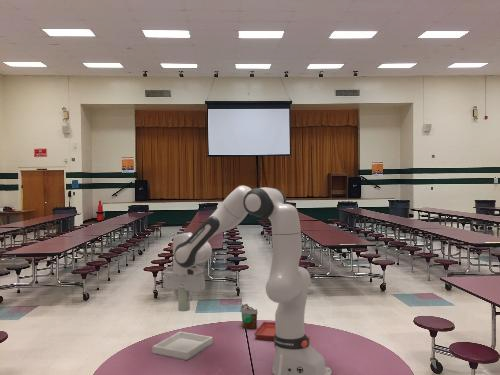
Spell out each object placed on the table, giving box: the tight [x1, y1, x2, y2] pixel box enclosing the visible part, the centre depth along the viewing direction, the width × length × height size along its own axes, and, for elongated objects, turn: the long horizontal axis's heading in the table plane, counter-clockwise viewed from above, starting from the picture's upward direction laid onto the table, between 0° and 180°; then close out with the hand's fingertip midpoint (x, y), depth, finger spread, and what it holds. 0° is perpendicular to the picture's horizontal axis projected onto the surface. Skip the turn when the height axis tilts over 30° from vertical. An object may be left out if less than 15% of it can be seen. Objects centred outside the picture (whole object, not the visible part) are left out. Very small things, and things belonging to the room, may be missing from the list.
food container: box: [239, 303, 258, 330], centre depth 216 cm, size 12×6×10 cm, turn 25°
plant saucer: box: [253, 321, 275, 341], centre depth 204 cm, size 18×18×3 cm
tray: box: [151, 331, 214, 361], centre depth 189 cm, size 18×20×3 cm
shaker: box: [177, 284, 191, 312], centre depth 190 cm, size 5×5×12 cm
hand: (183, 299), depth 190 cm, fingers closed on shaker, 5 cm apart
